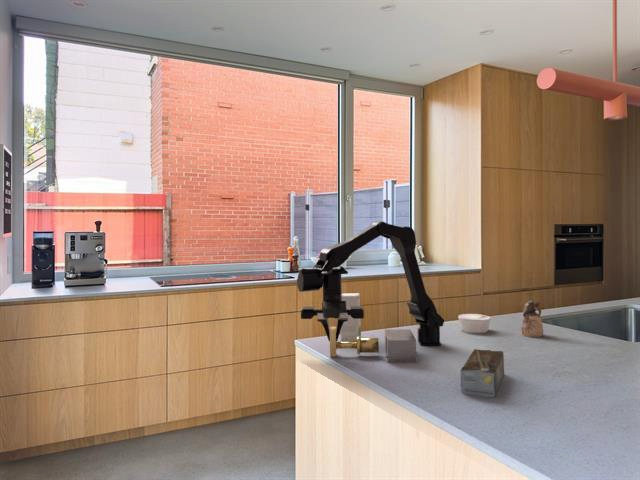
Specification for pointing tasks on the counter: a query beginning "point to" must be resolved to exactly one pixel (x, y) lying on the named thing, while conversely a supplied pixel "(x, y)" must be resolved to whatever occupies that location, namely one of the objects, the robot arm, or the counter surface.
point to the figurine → (532, 320)
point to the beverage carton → (482, 373)
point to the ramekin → (474, 323)
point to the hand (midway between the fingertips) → (333, 340)
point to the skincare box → (351, 319)
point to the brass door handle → (353, 344)
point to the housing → (400, 346)
